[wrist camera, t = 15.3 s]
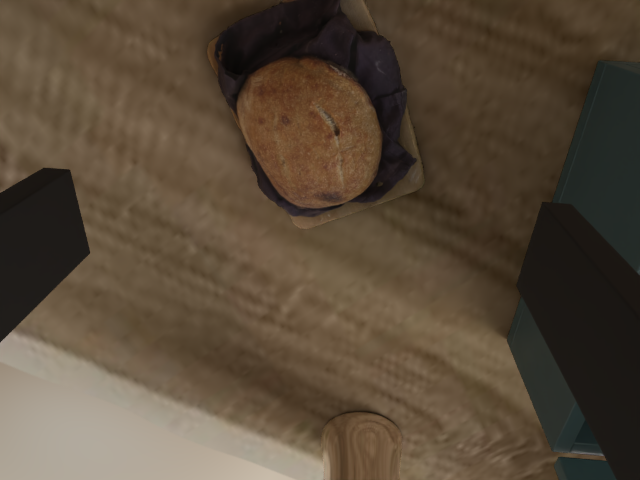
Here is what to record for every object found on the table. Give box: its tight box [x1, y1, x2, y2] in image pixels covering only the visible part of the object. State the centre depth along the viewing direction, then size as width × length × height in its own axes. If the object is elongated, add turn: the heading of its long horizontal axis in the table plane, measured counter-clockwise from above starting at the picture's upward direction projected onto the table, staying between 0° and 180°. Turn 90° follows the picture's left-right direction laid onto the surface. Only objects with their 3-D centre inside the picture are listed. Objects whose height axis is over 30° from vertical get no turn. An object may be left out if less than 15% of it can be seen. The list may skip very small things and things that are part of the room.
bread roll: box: [207, 0, 425, 229], centre depth 21 cm, size 11×8×4 cm
